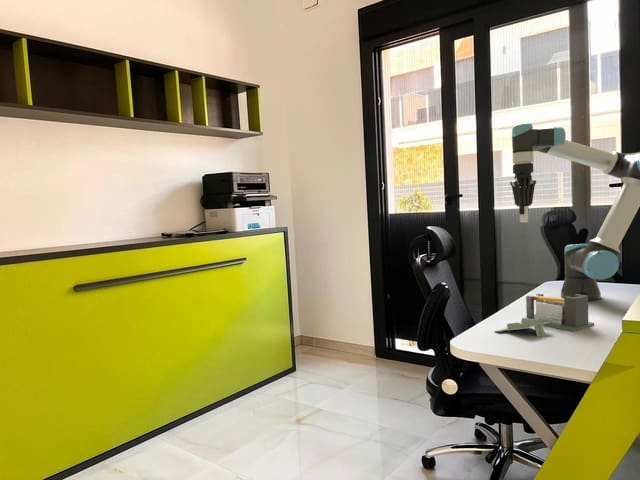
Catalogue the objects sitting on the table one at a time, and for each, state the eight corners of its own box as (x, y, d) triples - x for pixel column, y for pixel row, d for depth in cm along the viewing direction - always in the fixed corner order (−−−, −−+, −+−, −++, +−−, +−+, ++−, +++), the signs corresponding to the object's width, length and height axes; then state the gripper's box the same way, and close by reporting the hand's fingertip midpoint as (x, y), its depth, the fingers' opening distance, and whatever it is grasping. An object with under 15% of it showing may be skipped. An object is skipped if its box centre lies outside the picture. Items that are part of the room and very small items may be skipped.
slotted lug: (564, 325, 163) (564, 296, 162) (577, 321, 166) (576, 294, 166) (575, 327, 160) (575, 298, 159) (588, 323, 163) (588, 295, 162)
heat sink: (524, 317, 176) (524, 296, 175) (541, 313, 180) (540, 293, 179) (561, 325, 163) (560, 302, 162) (577, 320, 167) (577, 298, 167)
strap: (533, 300, 175) (532, 296, 175) (538, 298, 177) (538, 295, 177) (573, 303, 162) (573, 299, 162) (579, 302, 163) (578, 298, 163)
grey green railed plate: (522, 320, 175) (522, 318, 175) (543, 315, 181) (543, 312, 181) (572, 331, 158) (572, 329, 158) (594, 325, 164) (594, 322, 164)
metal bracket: (554, 315, 159) (524, 322, 152) (559, 332, 158) (529, 341, 151) (519, 319, 171) (490, 326, 164) (523, 335, 170) (494, 343, 163)
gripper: (525, 164, 198) (526, 221, 200) (503, 164, 192) (505, 223, 194) (541, 162, 191) (543, 221, 193) (519, 162, 185) (521, 223, 187)
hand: (524, 222), depth 193 cm, fingers closed
